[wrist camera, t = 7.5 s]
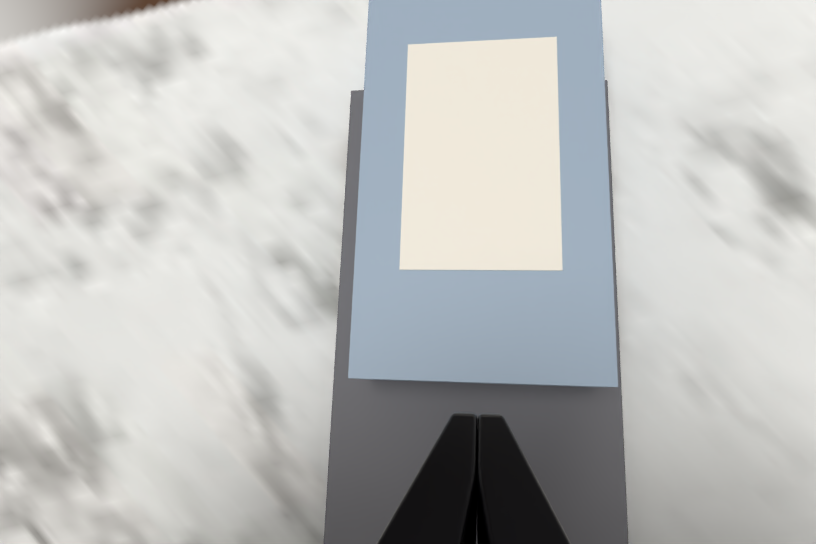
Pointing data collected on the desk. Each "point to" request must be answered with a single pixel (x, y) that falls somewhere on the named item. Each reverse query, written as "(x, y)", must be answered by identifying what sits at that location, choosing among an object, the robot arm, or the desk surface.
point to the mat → (436, 401)
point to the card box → (484, 196)
